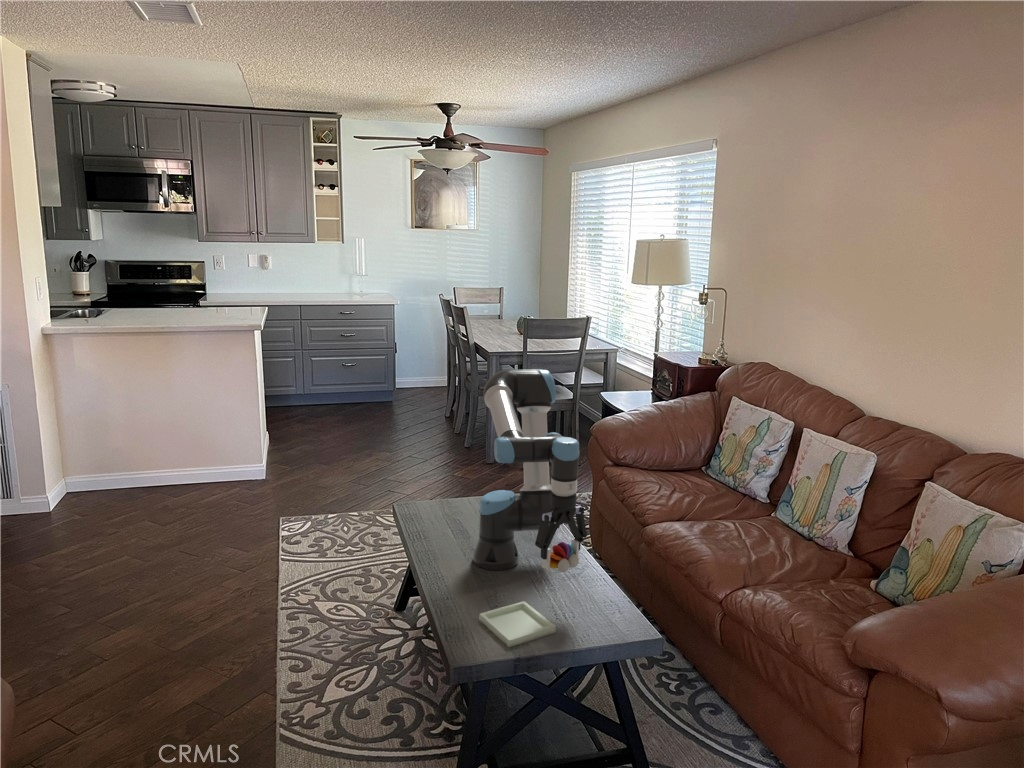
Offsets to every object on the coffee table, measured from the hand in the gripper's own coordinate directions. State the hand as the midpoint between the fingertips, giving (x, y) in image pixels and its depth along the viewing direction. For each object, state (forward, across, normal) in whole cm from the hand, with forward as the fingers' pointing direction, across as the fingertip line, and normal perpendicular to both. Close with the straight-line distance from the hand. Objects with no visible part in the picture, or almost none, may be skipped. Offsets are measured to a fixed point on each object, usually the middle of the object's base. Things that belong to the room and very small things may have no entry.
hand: (560, 564), depth 211 cm
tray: (+13, -17, -4) cm, 22 cm away
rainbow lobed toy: (+1, 0, 0) cm, 1 cm away
